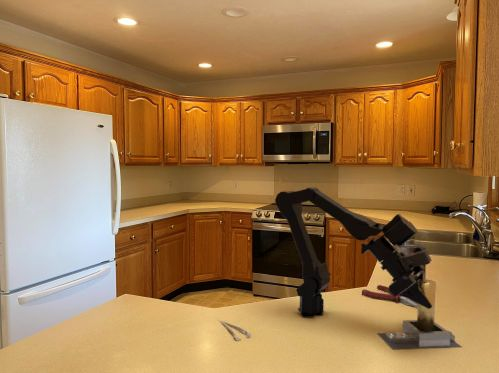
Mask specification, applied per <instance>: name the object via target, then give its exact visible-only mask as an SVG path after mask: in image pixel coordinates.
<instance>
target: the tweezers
mask: <svg viewBox="0 0 499 373" xmlns="http://www.w3.org/2000/svg"><path fill="white" fill-rule="evenodd" d="M218 322H219V323H220V324H221V325H223V327H225V328H226V330H227V331H228V332H229V333H230V334H231V335H232V336H233V338H234V340H235V341H237V342H240V341H242V337H241V338H239V337H238V336H236V333H235V332H234V331H233V330H232V329H231V328H233V329H234V330H235V331H237V332H239V333H241V334H242V335H244V336H246V337H247V339H250V338H251V337H252V335H251V333H249V332H248V331H247V330H245V329H243V327H239V326H237V325H234V324H231V323H229V322H225V321H223V320H220V319H218ZM230 327H231V328H230Z"/></svg>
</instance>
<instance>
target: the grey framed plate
mask: <svg viewBox="0 0 499 373" xmlns="http://www.w3.org/2000/svg"><path fill="white" fill-rule="evenodd" d="M385 333H386V339H387V340H388V341H389V342H390V343H391V344H395V343H414V344H416V345H417V346H418V347H419V348H423V347H450V342H456V339H455V338H456V336H455V334H453V332H452V331H450V330H447V329H446V328H444V327H443V326H441V325H440V324H439V323H437V322H435V321H434V331H431V332H423V331H420V330H418V329H417V319H409V320H402V331H397V332H396V331H393V332H391V331H389V332H385Z"/></svg>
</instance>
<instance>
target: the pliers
mask: <svg viewBox="0 0 499 373" xmlns="http://www.w3.org/2000/svg"><path fill="white" fill-rule="evenodd" d="M377 289H378V290H377ZM376 290H377V291H380V290H381V292H382V293H381V292H375V291H371V290H368V289H362V290H361V295H362V296H363V295H364V297H366V296H367V298H369V297H370V298H369V299H374V300H380V301H386V302H393V303H394V302H395V304H397V305H398V303H399V304H400V303H401V304H404V305H407V306H410V307H414V308H418V303H416V302H414V301H412V300H410V299H408V298H406V297H404V296H402V295H401V296H400V295H397V296H396V297H393V295H392V294H391V293H390V292H389V286H385V285H382V284H378V285H377V286H376ZM383 291H384V293H383ZM386 292H387V293H386Z"/></svg>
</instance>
